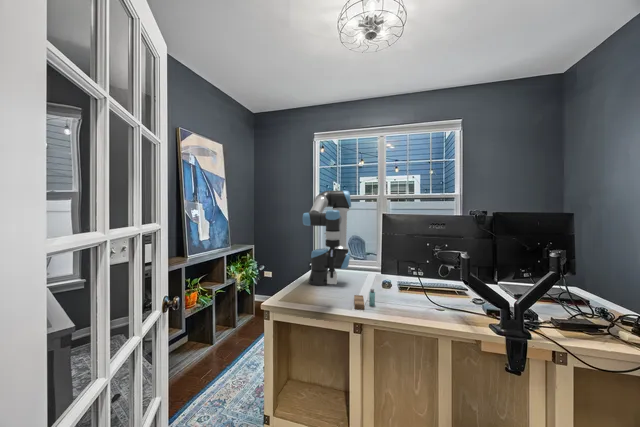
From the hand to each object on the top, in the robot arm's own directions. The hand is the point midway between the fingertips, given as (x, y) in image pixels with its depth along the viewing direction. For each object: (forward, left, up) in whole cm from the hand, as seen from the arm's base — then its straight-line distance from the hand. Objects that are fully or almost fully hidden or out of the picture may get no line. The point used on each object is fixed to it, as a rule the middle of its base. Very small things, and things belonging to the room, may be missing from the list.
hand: (332, 281), depth 145 cm
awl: (-3, +22, -13) cm, 25 cm away
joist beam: (-3, +15, -13) cm, 20 cm away
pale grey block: (0, 0, 0) cm, 0 cm away
